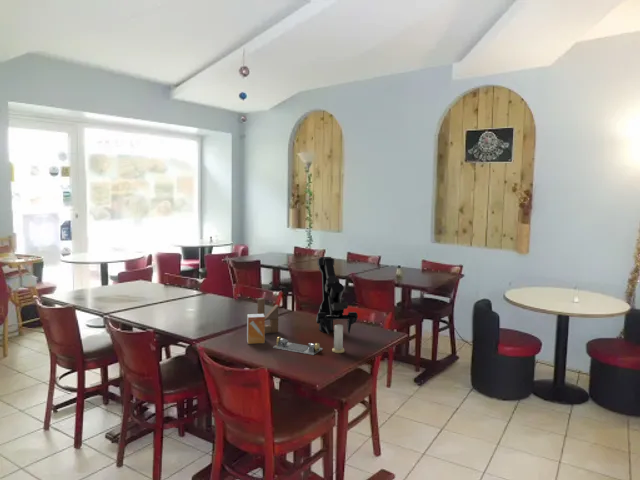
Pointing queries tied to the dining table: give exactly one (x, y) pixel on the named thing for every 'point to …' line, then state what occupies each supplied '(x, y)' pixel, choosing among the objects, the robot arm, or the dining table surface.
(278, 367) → the dining table surface
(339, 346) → the grey upright cylinder
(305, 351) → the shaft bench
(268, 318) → the wooden block
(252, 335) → the small box
